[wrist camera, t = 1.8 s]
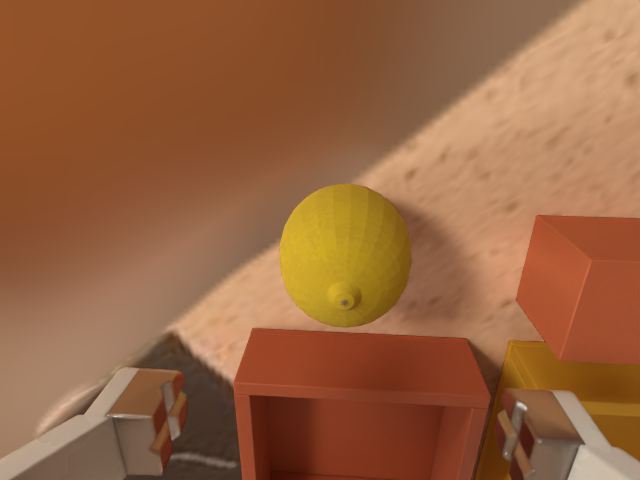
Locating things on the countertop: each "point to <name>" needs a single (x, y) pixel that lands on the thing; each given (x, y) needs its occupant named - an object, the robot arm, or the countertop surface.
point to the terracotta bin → (358, 406)
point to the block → (585, 287)
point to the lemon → (345, 255)
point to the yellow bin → (581, 379)
